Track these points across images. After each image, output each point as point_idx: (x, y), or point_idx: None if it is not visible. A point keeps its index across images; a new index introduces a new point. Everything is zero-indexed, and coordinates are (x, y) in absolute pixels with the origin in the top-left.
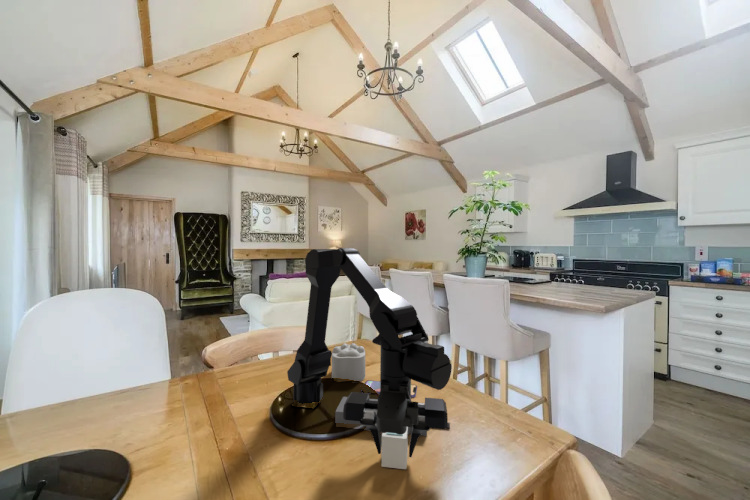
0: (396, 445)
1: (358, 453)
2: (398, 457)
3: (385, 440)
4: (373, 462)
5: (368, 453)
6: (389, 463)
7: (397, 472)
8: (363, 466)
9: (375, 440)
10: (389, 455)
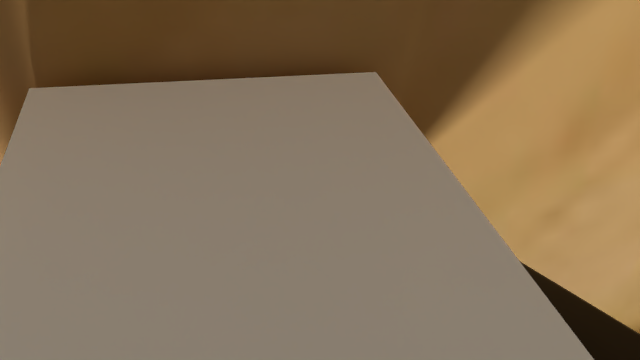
0: (204, 318)
1: (592, 210)
2: (151, 167)
3: (492, 352)
4: (459, 129)
5: (500, 233)
6: (283, 100)
7: (152, 23)
8: (572, 46)
9: (597, 328)
10: (310, 163)
